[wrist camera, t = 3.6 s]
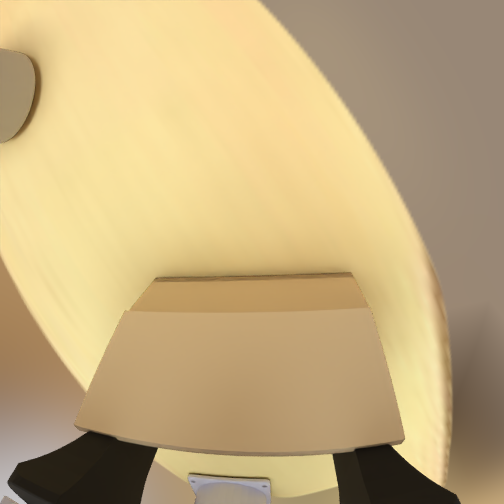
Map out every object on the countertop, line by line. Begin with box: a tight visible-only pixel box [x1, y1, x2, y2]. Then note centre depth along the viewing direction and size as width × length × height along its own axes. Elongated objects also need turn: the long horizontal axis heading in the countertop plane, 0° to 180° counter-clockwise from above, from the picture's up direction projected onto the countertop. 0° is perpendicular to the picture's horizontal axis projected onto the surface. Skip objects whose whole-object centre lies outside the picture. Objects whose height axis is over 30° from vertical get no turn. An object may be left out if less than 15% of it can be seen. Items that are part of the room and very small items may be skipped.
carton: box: [129, 273, 373, 314], centre depth 16 cm, size 6×11×4 cm, turn 93°
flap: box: [74, 308, 405, 456], centre depth 10 cm, size 6×11×1 cm
